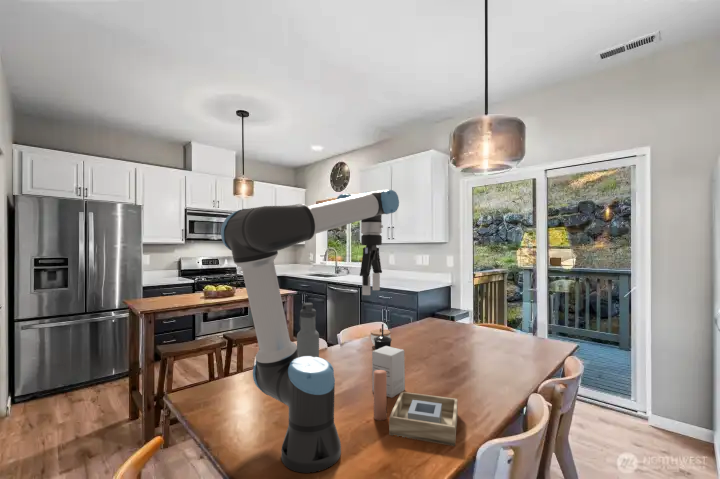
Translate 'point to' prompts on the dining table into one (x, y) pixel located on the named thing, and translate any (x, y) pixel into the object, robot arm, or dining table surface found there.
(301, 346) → the water bottle
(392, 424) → the crate
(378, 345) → the drinking cup
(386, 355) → the supplement box
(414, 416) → the socket
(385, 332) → the lidded jar
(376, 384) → the peg
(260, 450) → the dining table surface
